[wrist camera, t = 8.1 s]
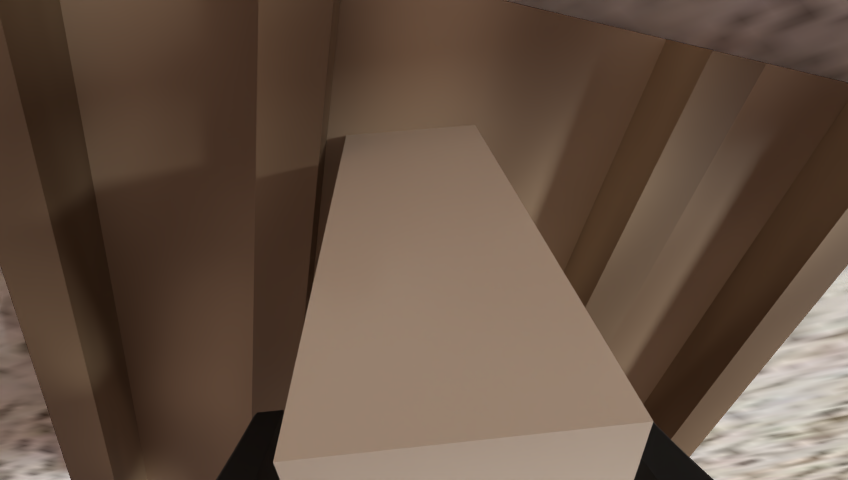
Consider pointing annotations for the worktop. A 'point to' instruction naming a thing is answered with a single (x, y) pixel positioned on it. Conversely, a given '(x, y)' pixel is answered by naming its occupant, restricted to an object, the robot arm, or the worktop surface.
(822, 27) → the worktop surface
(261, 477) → the robot arm
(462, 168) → the beige rectangular board
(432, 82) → the rack
